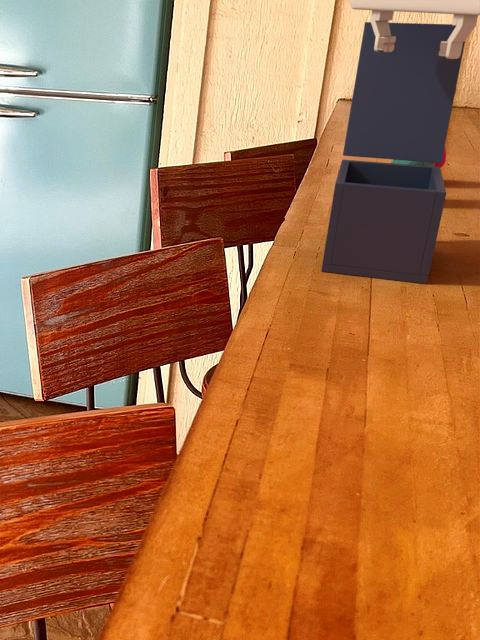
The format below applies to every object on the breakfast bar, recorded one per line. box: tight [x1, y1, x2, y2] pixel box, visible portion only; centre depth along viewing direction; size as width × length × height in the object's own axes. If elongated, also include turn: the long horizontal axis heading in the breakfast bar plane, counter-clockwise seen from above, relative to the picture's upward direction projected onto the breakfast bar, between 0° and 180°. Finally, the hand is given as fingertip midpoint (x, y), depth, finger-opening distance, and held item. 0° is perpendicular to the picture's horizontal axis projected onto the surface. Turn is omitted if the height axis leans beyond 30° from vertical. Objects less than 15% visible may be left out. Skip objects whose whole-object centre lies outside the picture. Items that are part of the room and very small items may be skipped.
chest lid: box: [342, 21, 466, 163], centre depth 114 cm, size 17×12×1 cm
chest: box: [320, 159, 447, 285], centre depth 112 cm, size 16×12×11 cm
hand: (414, 55), depth 102 cm, fingers open, 8 cm apart
